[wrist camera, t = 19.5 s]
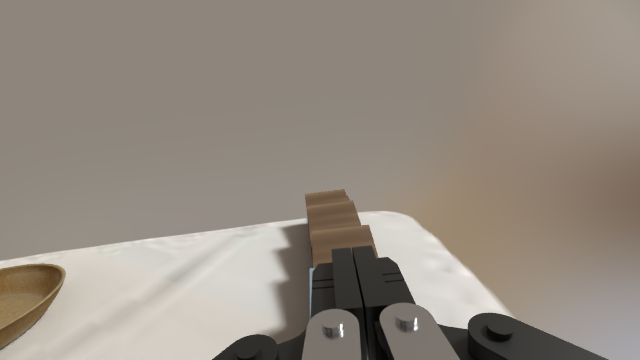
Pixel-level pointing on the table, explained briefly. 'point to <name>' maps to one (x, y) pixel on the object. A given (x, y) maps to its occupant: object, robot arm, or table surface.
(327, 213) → the domino
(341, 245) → the domino
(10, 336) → the plant saucer
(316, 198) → the domino
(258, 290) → the table surface
